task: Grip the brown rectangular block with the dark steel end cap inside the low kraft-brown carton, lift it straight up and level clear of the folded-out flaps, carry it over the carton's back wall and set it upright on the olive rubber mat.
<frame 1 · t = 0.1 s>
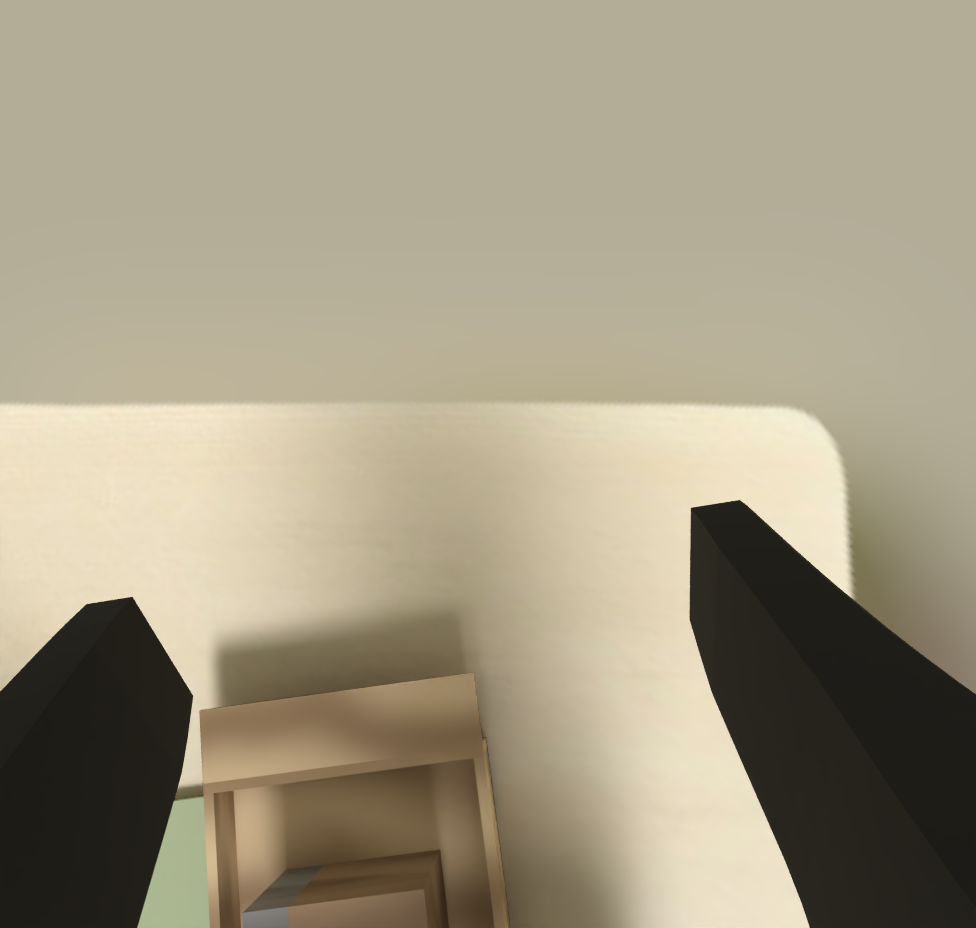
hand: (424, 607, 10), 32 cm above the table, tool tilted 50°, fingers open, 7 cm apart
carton: (368, 899, 38), on the table
brown rectangular block: (366, 902, 38), resting on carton
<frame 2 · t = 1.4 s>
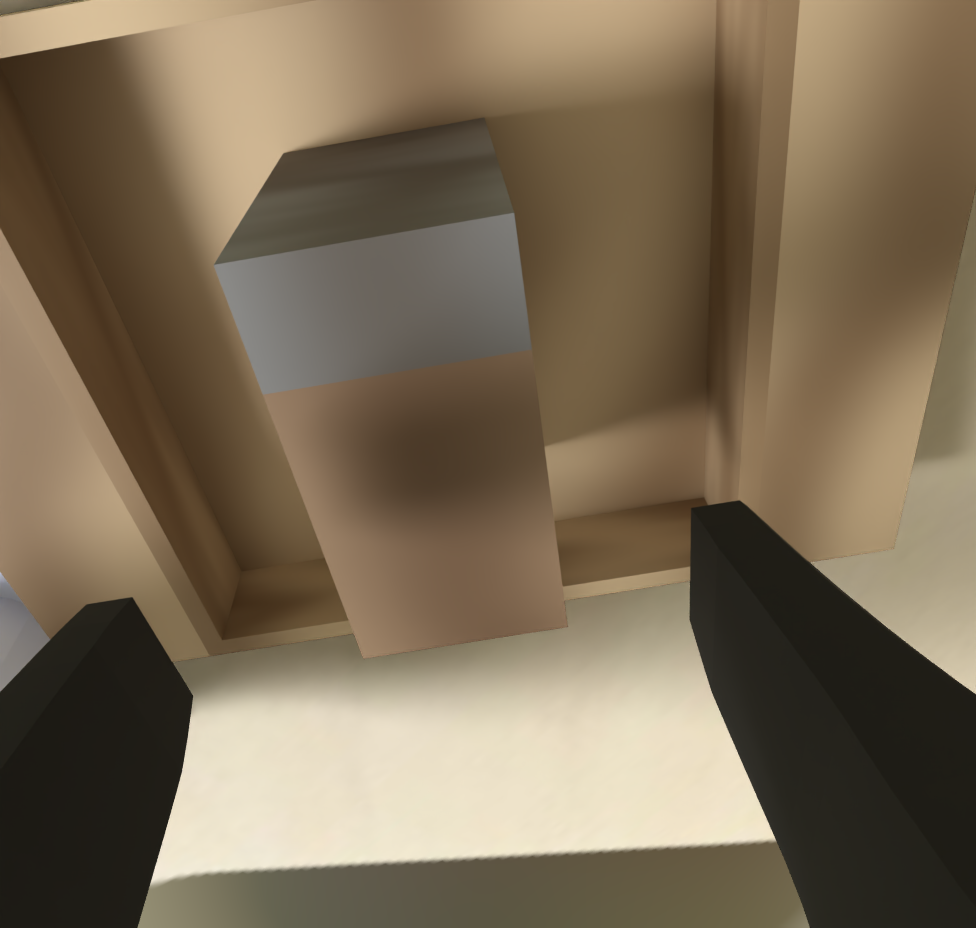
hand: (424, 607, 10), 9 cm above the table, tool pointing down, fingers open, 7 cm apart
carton: (423, 312, 17), on the table
brown rectangular block: (423, 321, 17), resting on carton
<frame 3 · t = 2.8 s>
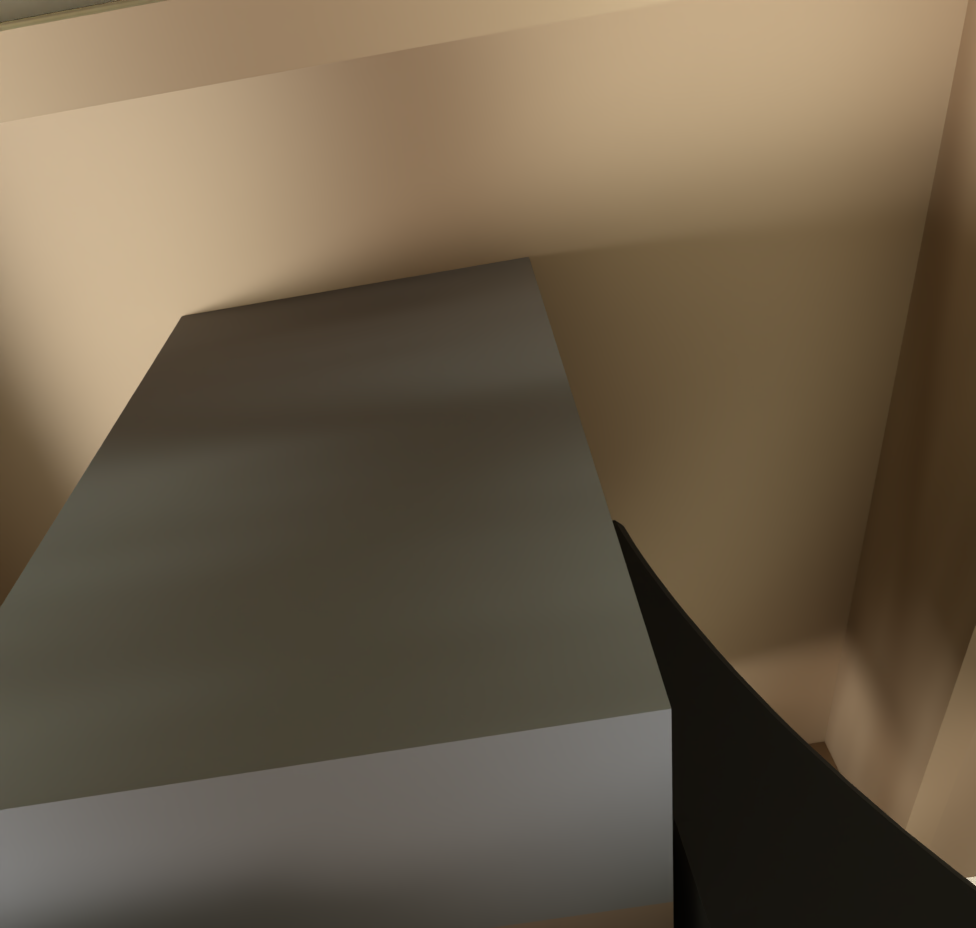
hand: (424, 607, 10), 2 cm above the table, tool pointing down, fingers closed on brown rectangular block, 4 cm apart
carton: (424, 523, 11), on the table
brown rectangular block: (424, 546, 11), resting on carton, touching gripper
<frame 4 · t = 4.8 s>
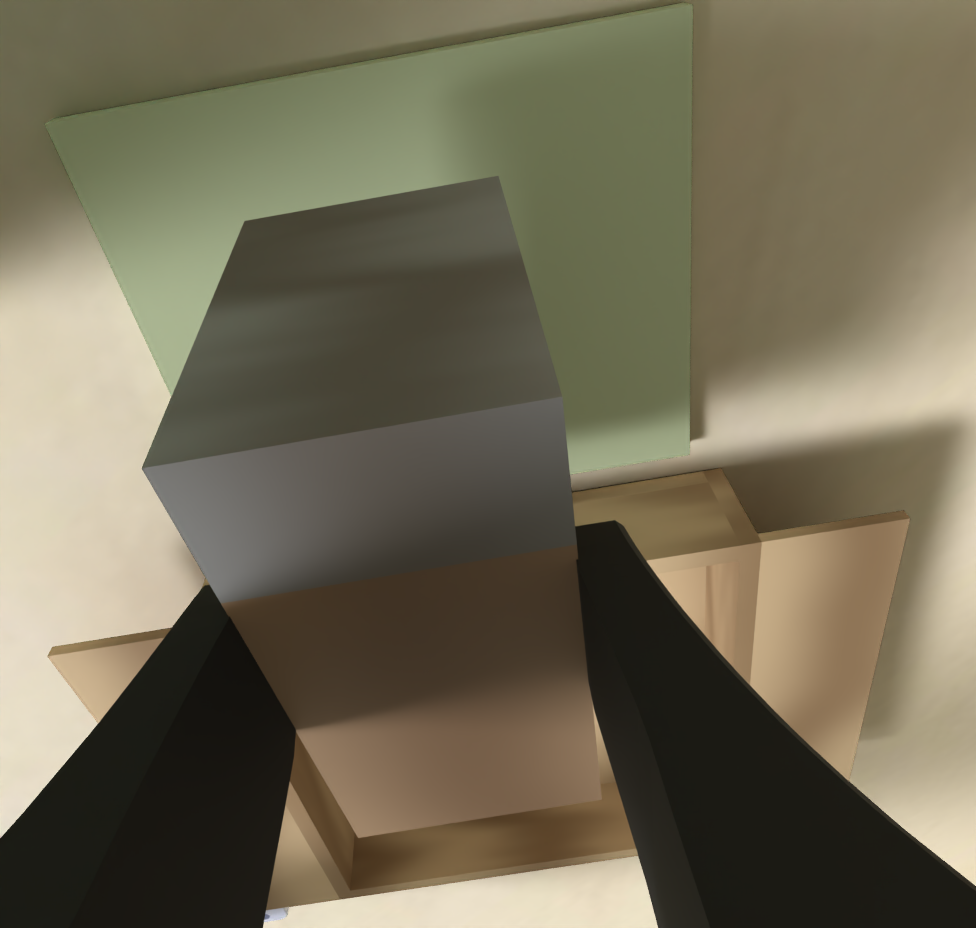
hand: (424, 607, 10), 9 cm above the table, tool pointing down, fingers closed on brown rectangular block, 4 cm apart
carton: (501, 673, 25), on the table
brown rectangular block: (422, 406, 14), point 4 cm above the table, touching gripper
olive mat: (420, 307, 17), on the table
when the fingers open (4 cm above the table, at t = 5.7 s): brown rectangular block stays where it is, resting on olive mat.
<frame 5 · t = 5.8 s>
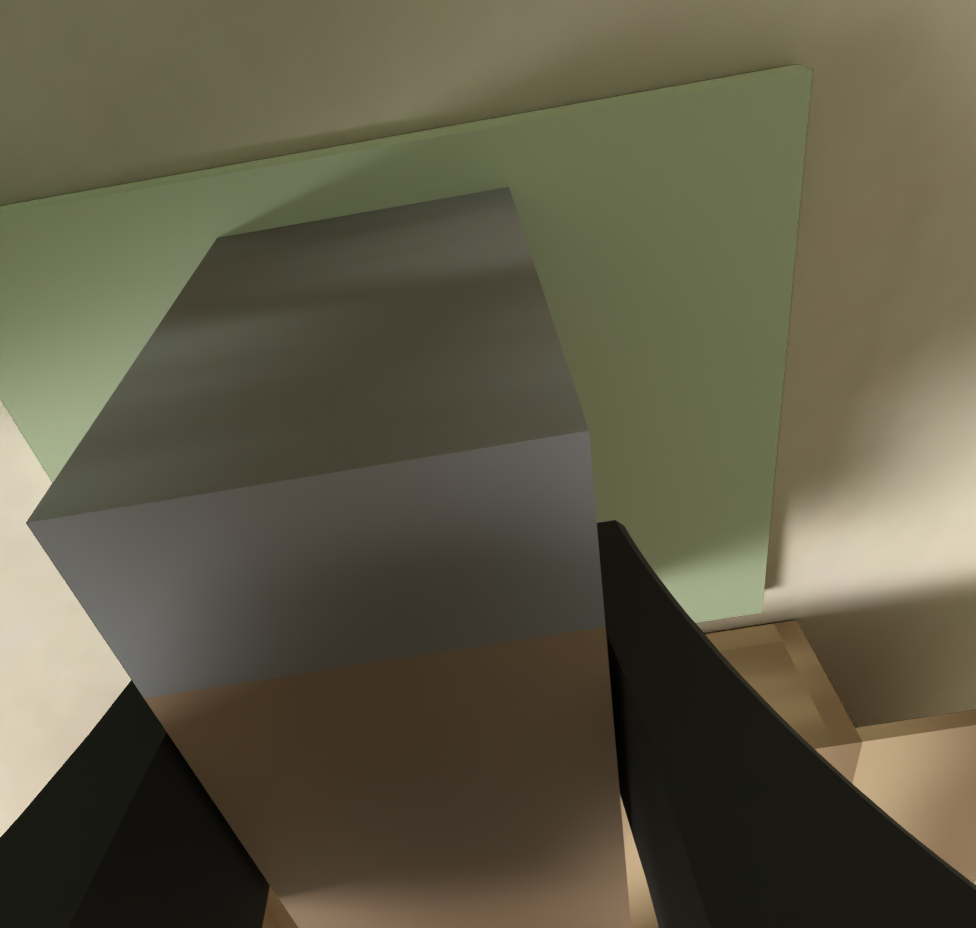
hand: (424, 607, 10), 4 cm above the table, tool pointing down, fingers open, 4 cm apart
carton: (518, 833, 21), on the table
brown rectangular block: (421, 452, 12), resting on olive mat
olive mat: (423, 447, 13), on the table
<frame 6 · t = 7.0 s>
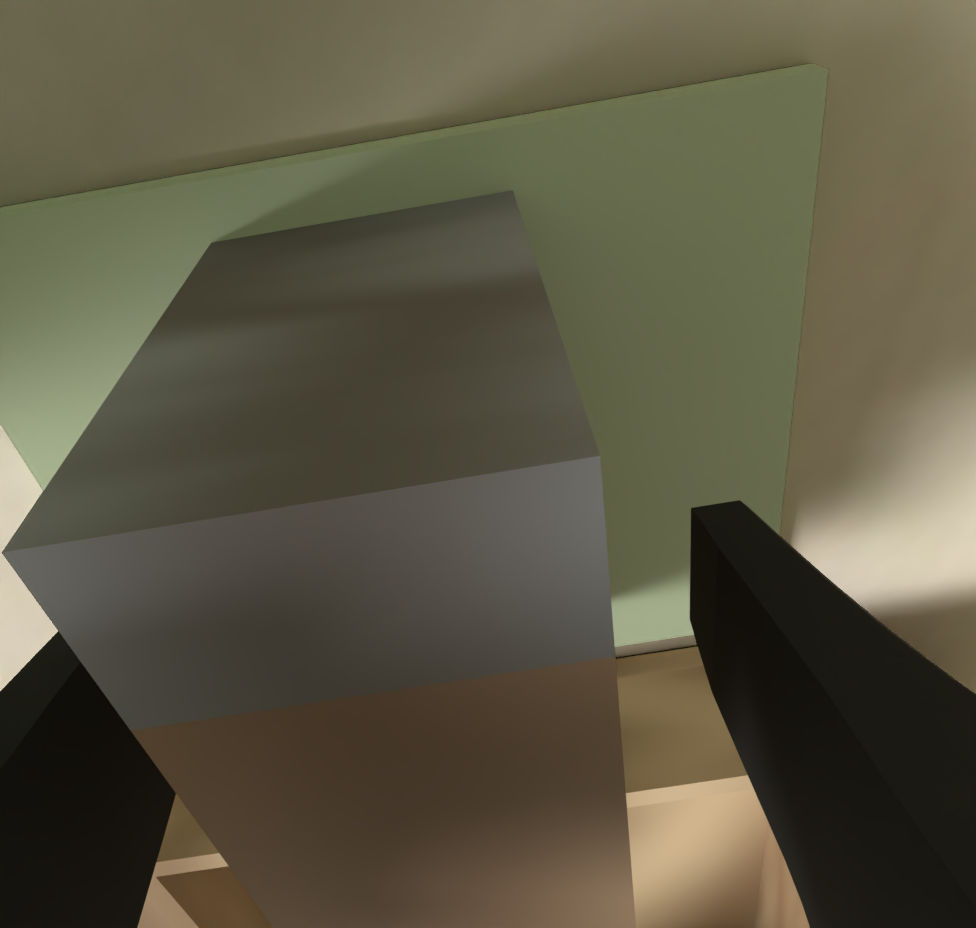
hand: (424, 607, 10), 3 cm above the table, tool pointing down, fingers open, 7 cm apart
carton: (520, 843, 20), on the table
brown rectangular block: (422, 462, 12), resting on olive mat
olive mat: (424, 455, 13), on the table
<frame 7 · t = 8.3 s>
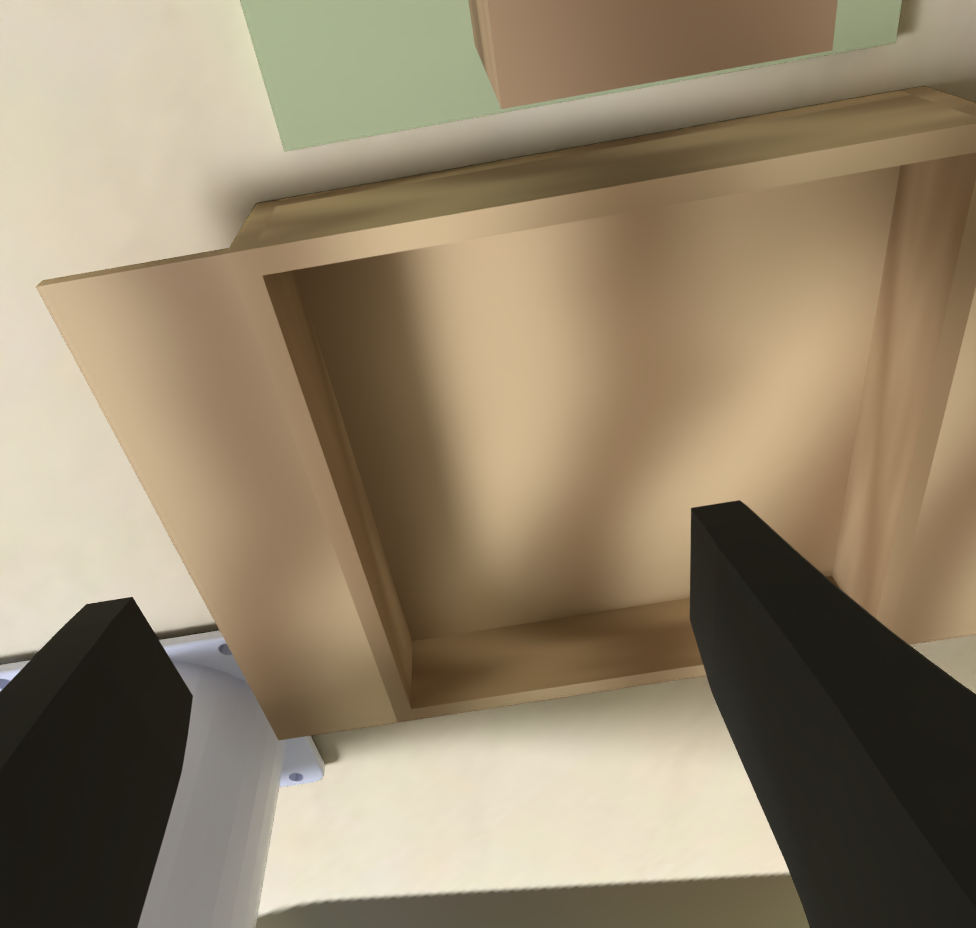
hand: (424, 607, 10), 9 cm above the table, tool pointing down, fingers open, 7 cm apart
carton: (604, 424, 20), on the table
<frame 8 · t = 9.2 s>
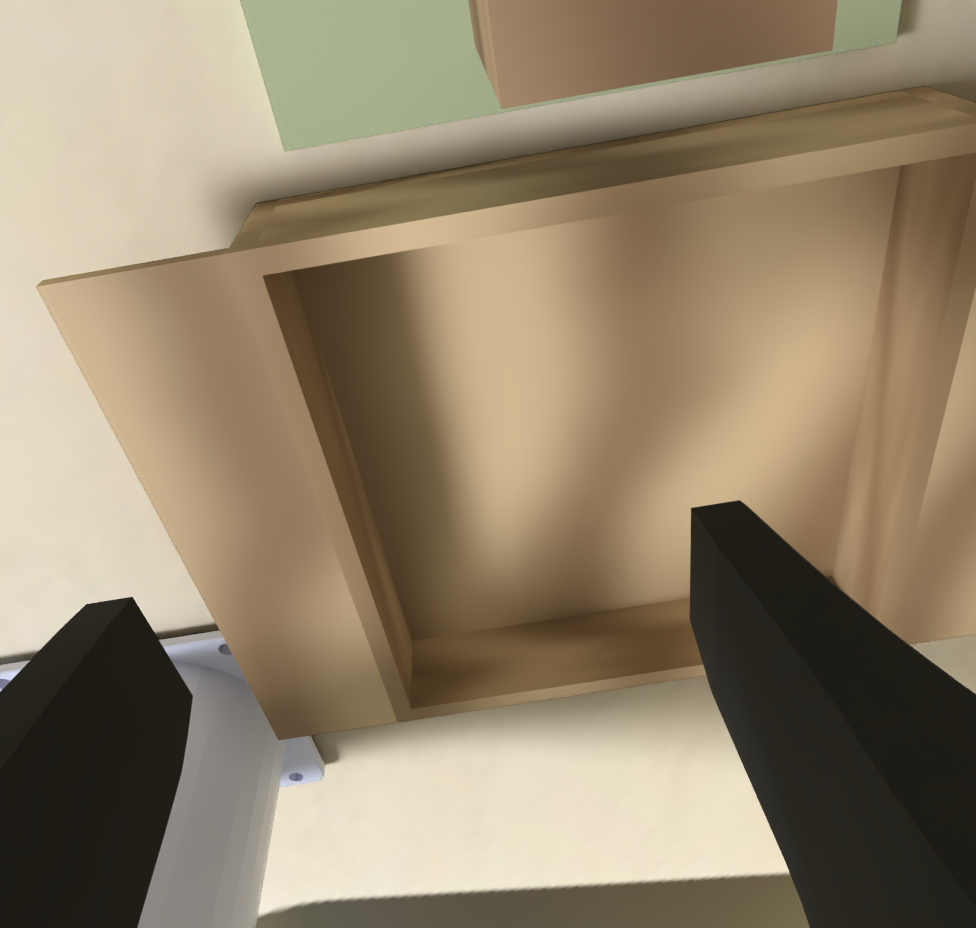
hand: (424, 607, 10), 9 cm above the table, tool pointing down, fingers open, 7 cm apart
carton: (604, 424, 20), on the table
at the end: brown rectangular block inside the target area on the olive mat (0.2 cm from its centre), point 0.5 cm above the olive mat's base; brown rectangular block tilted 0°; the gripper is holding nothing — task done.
